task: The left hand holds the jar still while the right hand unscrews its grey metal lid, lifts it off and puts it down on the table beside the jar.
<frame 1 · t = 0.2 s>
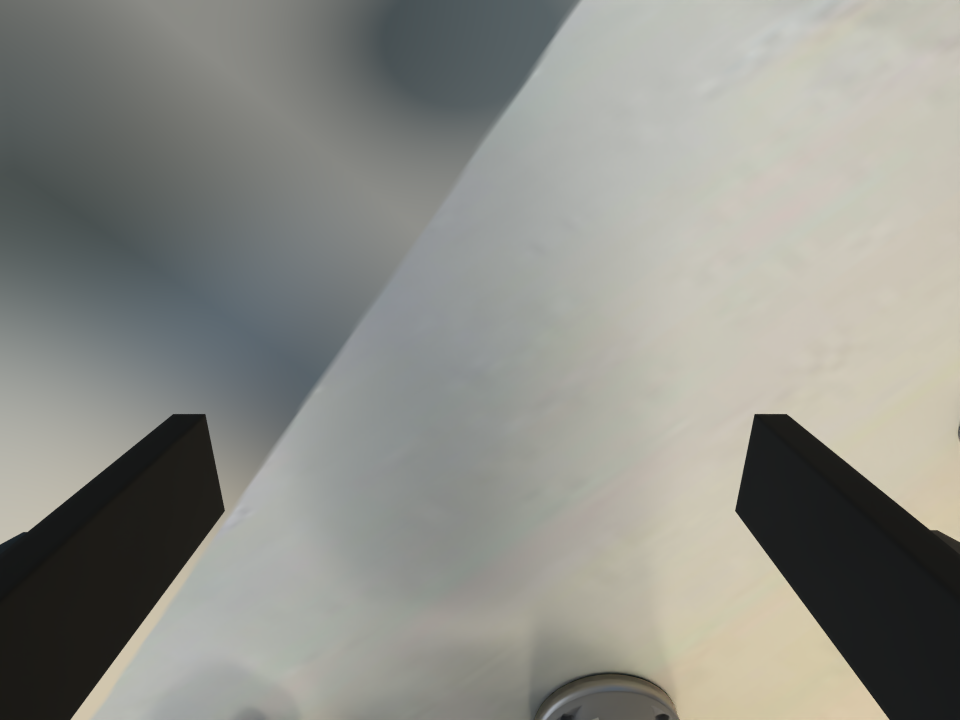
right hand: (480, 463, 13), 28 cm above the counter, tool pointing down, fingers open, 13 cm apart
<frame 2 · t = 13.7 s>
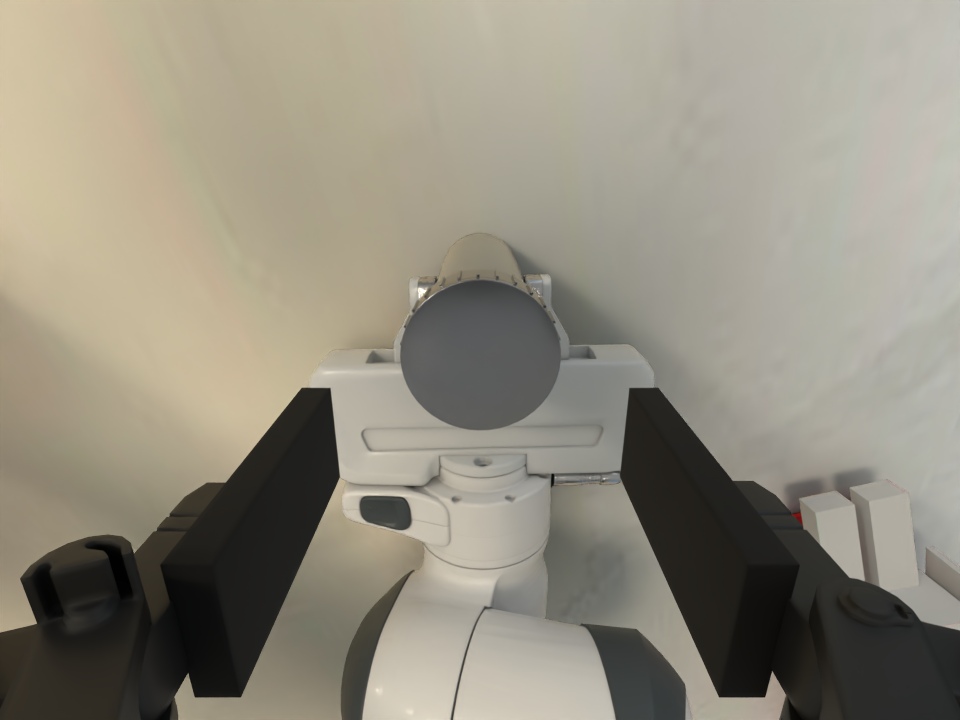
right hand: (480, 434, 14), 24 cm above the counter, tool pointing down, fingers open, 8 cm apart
left hand: (479, 277, 30), fingers closed on jar, 5 cm apart
toy: (824, 607, 47), on the counter
lid: (480, 355, 20), point 17 cm above the counter, screwed on, not yet turned
jar: (480, 270, 36), on the counter, touching left hand
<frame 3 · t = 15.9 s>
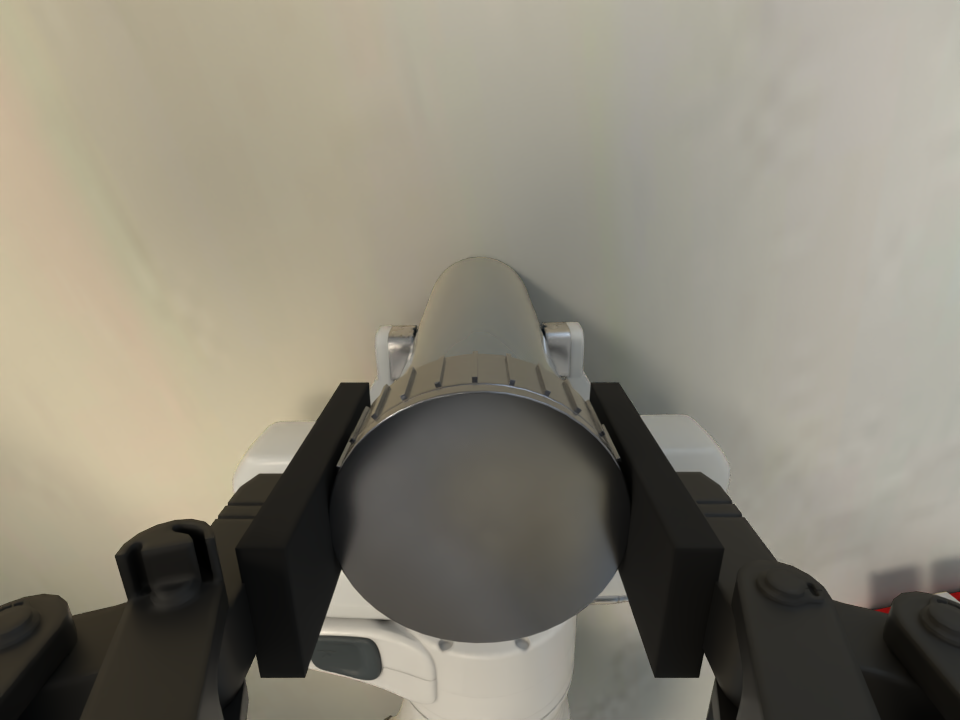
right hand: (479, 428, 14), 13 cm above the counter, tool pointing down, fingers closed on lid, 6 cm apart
lid: (479, 519, 11), point 17 cm above the counter, screwed on, not yet turned, touching right hand
jar: (479, 306, 27), on the counter, touching left hand
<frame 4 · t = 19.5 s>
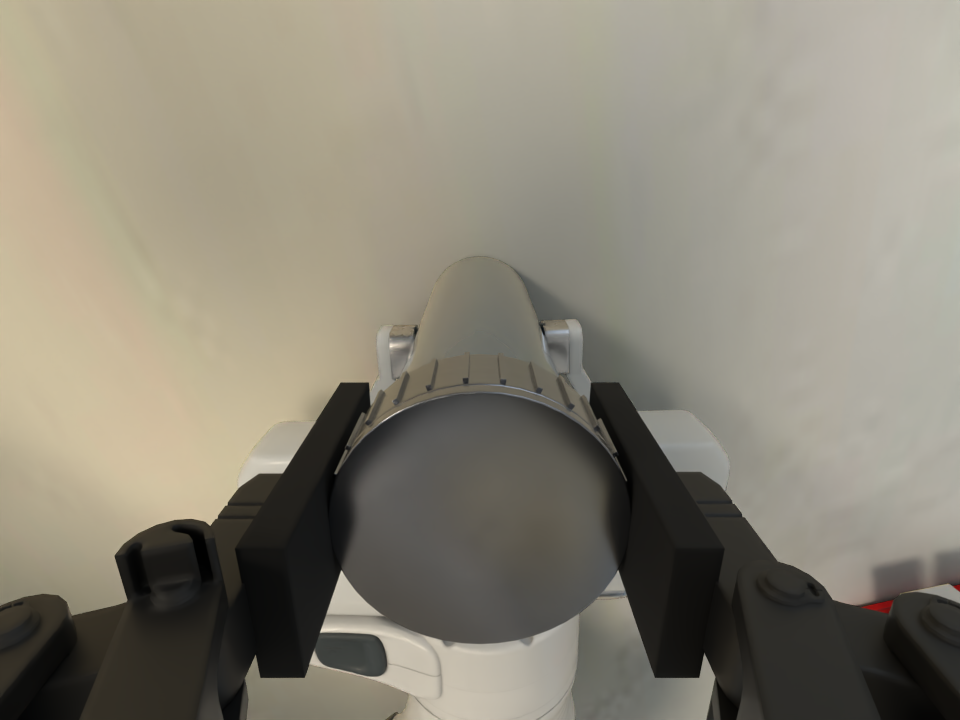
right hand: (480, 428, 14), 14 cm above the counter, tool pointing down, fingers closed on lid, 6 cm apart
toy: (913, 708, 37), on the counter
lid: (479, 519, 11), point 18 cm above the counter, turned 136° so far, risen 0.2 cm, still on its thread, touching right hand
jar: (479, 305, 27), on the counter, touching left hand
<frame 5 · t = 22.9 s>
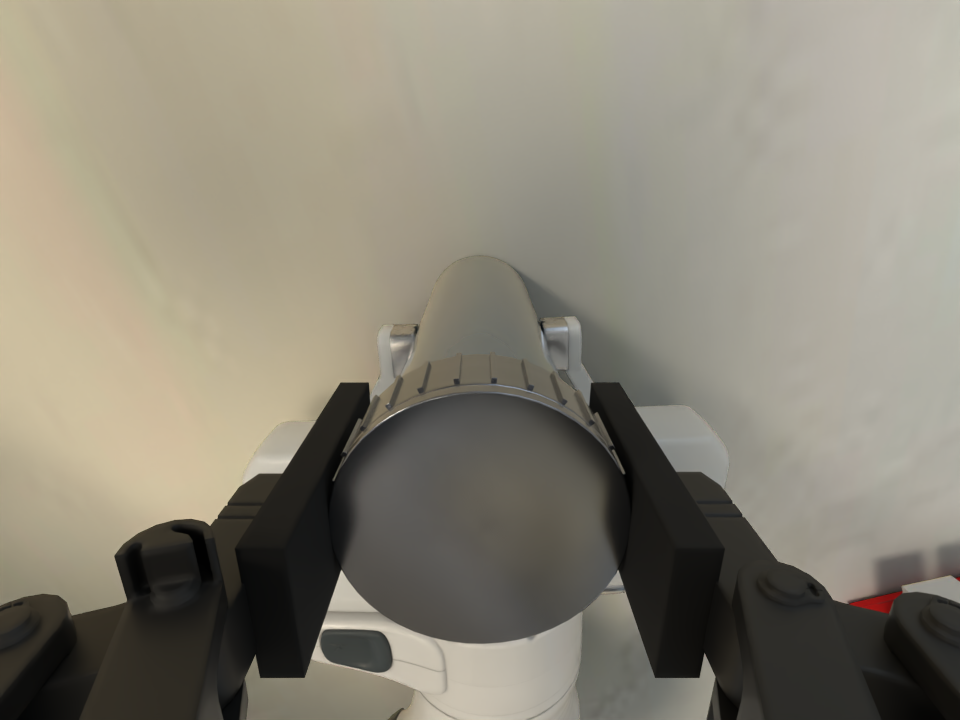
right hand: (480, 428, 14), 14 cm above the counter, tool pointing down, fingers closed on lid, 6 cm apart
toy: (918, 701, 38), on the counter
lid: (479, 519, 11), point 18 cm above the counter, turned 272° so far, risen 0.5 cm, still on its thread, touching right hand
jar: (479, 304, 27), on the counter, touching left hand
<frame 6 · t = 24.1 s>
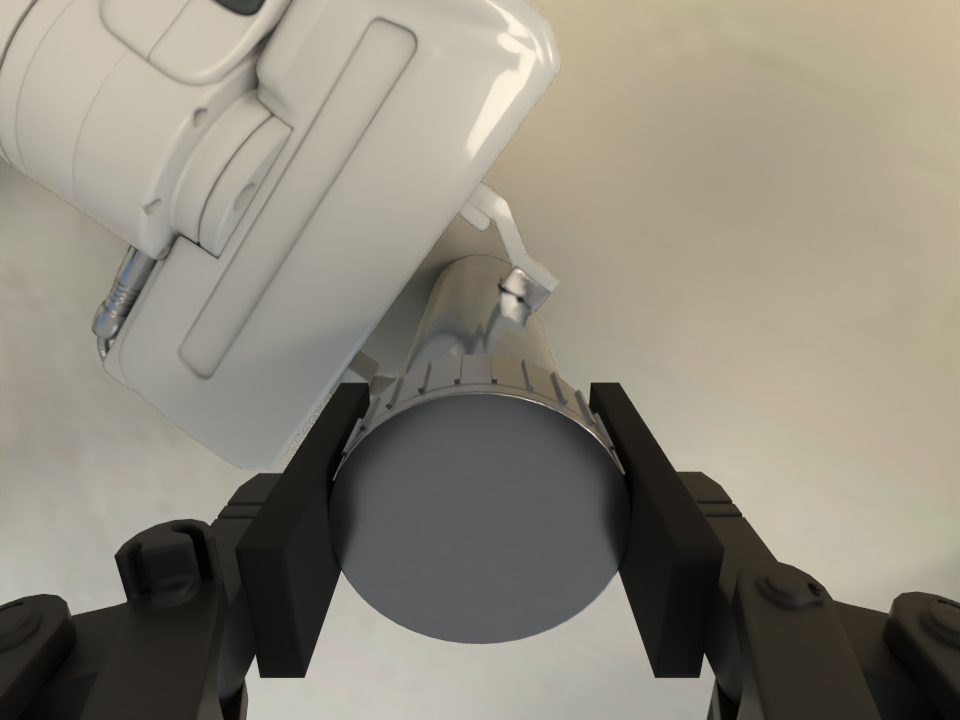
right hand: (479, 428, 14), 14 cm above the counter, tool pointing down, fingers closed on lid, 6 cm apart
left hand: (497, 354, 22), fingers closed on jar, 5 cm apart
lid: (479, 519, 11), point 18 cm above the counter, off its thread, touching right hand
jar: (479, 303, 28), on the counter, touching left hand
when the right hand's fingers open (0 cm above the counter, at t = 30.2 s): lid drops 2 cm, point 2 cm above the counter.
when the left hand's fingers open (7 cm above the counter, at t = 30.8 s): jar stays where it is, on the counter.
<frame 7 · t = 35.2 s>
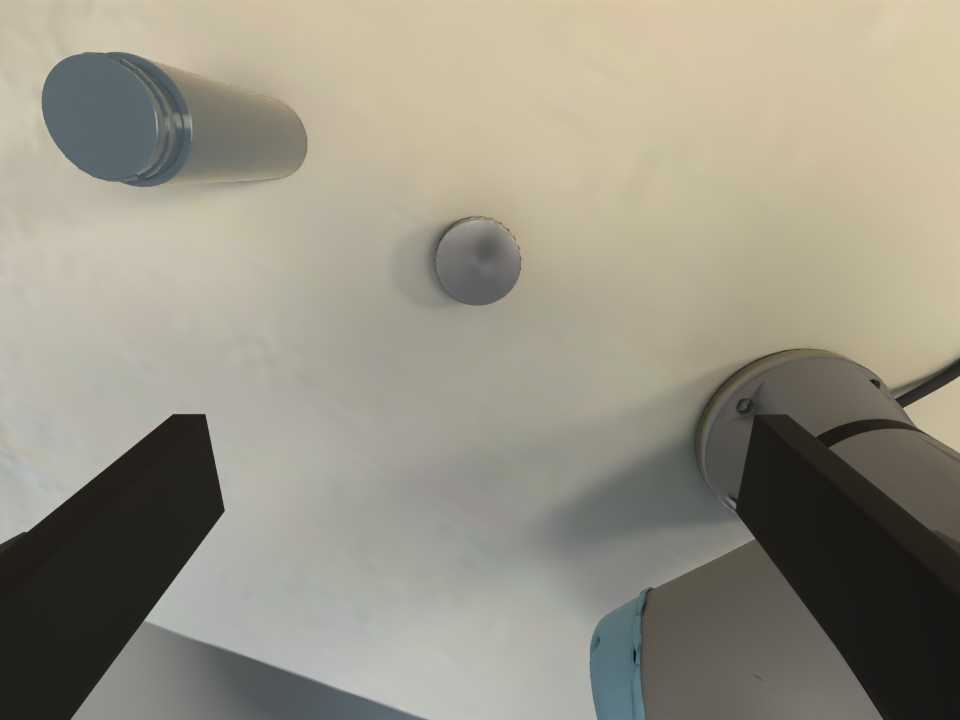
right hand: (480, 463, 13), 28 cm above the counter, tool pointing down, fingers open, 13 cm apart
lid: (478, 263, 37), point 2 cm above the counter, off its thread
jar: (270, 139, 36), on the counter
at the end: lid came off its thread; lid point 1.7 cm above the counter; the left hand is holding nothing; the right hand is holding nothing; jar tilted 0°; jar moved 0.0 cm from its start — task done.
